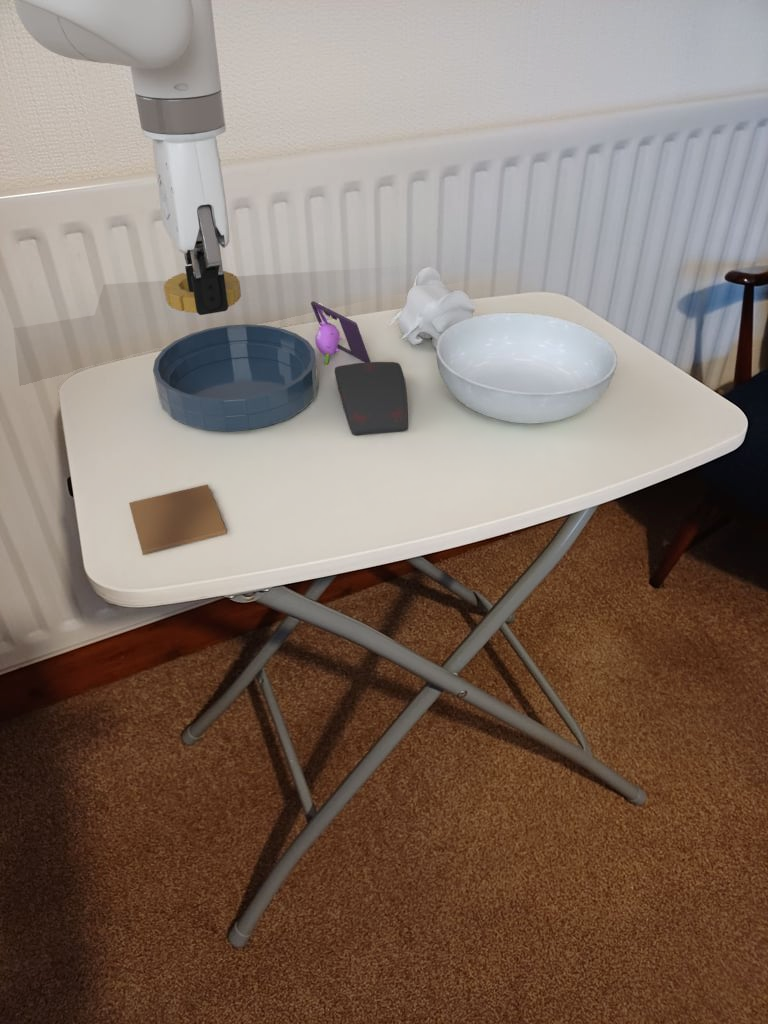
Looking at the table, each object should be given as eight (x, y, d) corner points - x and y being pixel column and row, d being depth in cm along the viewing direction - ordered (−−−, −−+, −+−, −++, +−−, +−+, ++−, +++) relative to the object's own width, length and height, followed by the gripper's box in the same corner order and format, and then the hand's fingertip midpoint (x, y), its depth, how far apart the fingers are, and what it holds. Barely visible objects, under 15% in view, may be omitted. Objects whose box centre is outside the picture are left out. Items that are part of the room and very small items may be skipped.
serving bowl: (635, 438, 89) (648, 385, 84) (454, 455, 86) (458, 401, 82) (573, 353, 105) (581, 305, 100) (419, 365, 102) (420, 316, 98)
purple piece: (360, 319, 98) (316, 297, 103) (330, 344, 96) (287, 320, 101) (374, 359, 103) (331, 336, 108) (346, 383, 101) (304, 359, 107)
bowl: (177, 449, 87) (170, 414, 84) (148, 372, 101) (141, 340, 98) (339, 414, 93) (337, 380, 90) (290, 345, 107) (288, 314, 104)
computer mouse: (395, 374, 100) (395, 345, 98) (415, 431, 90) (415, 401, 87) (332, 379, 99) (331, 350, 97) (345, 437, 89) (344, 407, 86)
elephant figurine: (380, 335, 109) (379, 273, 104) (457, 320, 113) (460, 259, 107) (408, 365, 102) (409, 300, 97) (489, 348, 106) (494, 285, 100)
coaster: (142, 555, 73) (141, 551, 73) (129, 506, 79) (128, 502, 79) (226, 533, 76) (226, 529, 76) (208, 488, 82) (207, 484, 81)
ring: (174, 317, 80) (172, 303, 79) (160, 289, 86) (157, 275, 85) (248, 305, 83) (247, 291, 82) (230, 279, 88) (228, 265, 87)
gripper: (125, 100, 75) (159, 284, 87) (156, 137, 64) (190, 345, 75) (203, 94, 78) (225, 274, 89) (245, 129, 66) (265, 331, 78)
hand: (209, 305), depth 82 cm, fingers closed on ring, 2 cm apart
